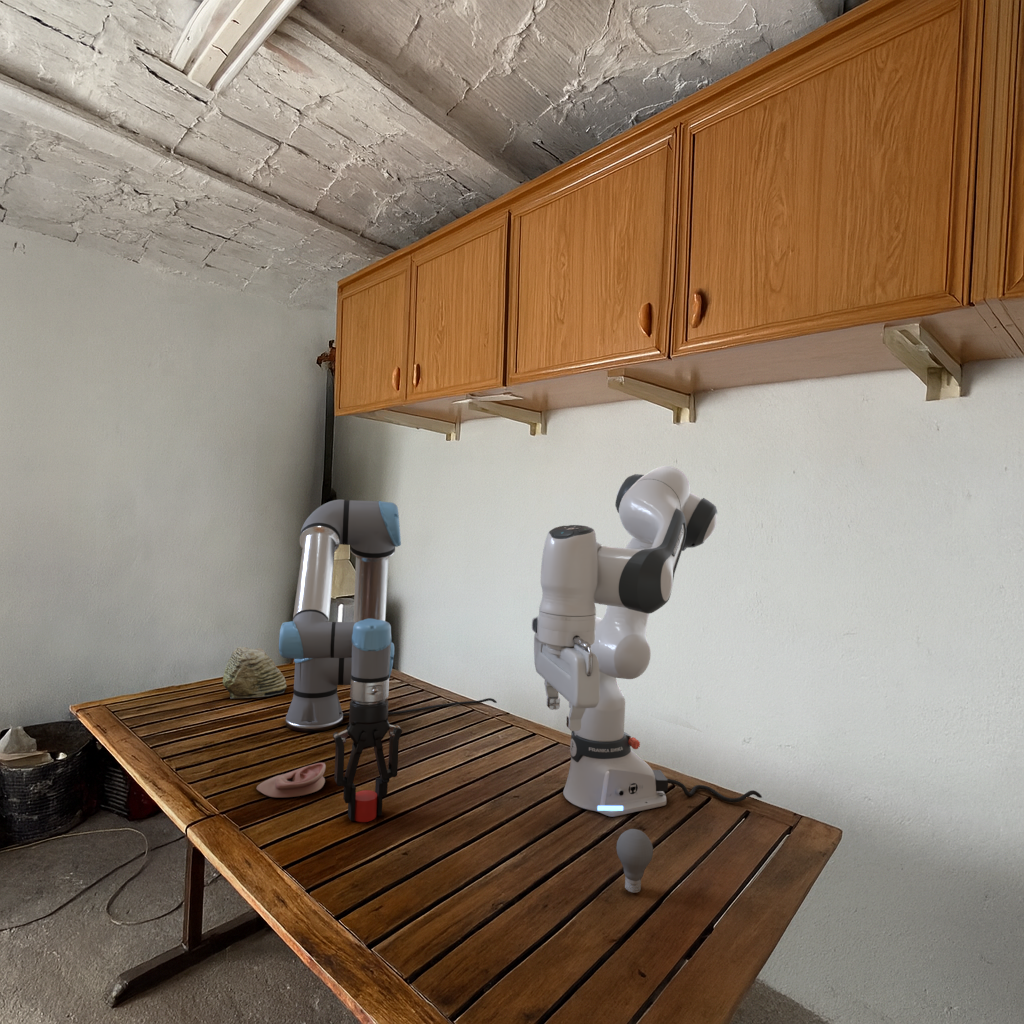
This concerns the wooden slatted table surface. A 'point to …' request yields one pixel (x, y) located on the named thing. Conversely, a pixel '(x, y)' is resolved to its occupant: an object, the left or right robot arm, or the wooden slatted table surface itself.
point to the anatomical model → (295, 782)
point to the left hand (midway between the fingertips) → (364, 814)
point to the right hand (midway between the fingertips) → (562, 718)
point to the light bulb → (634, 857)
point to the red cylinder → (365, 806)
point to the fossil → (252, 674)
